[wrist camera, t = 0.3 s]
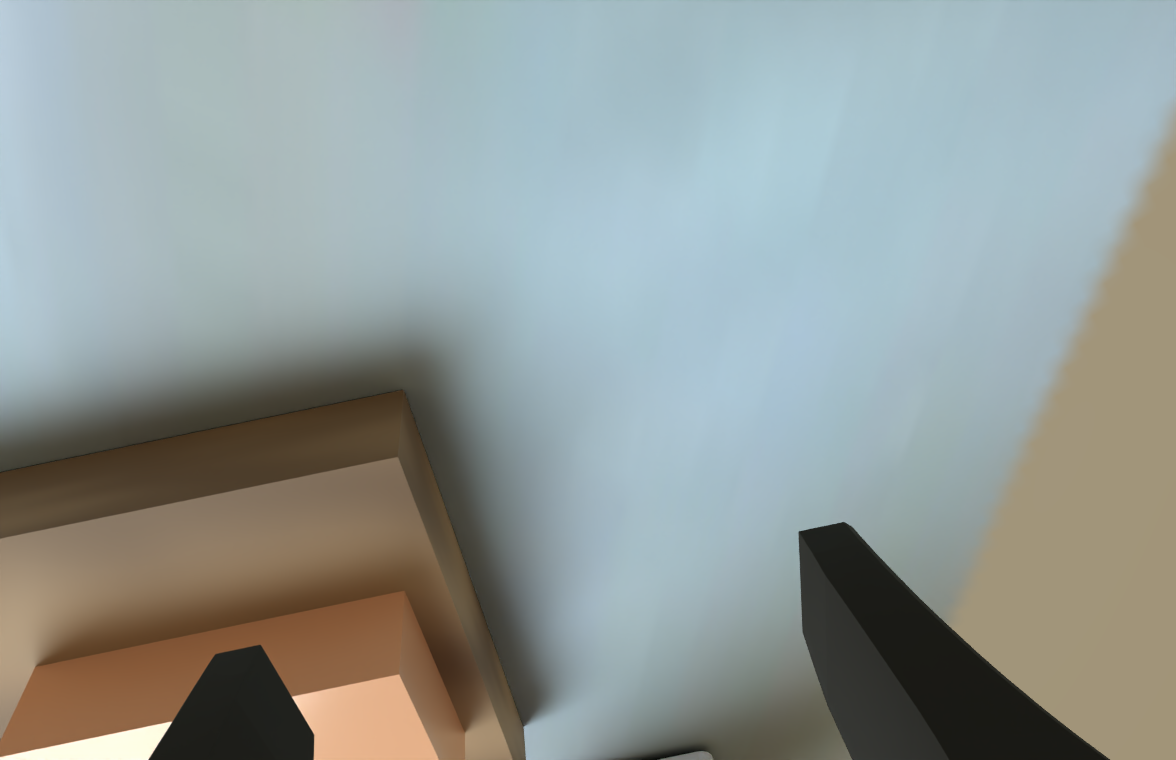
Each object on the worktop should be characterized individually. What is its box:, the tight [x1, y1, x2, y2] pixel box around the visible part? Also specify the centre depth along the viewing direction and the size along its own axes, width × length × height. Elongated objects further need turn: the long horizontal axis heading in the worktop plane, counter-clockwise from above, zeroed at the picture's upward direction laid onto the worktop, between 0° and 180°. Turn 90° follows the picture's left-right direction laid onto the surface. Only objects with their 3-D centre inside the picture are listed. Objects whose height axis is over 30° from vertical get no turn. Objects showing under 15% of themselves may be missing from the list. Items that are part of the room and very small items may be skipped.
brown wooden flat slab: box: [0, 390, 526, 760], centre depth 24 cm, size 14×14×2 cm
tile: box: [0, 591, 465, 760], centre depth 22 cm, size 6×9×2 cm, turn 99°
